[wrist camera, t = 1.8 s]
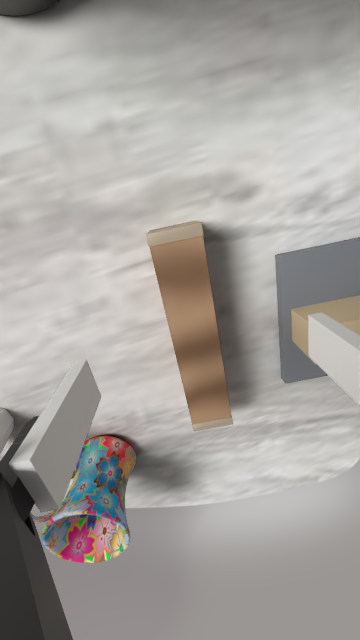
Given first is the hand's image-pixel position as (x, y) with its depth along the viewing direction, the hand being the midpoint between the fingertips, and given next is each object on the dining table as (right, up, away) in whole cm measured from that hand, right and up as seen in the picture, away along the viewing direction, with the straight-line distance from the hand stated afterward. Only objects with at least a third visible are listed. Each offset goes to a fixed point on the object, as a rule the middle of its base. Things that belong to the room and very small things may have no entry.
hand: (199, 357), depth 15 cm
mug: (-13, -17, +22) cm, 31 cm away
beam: (0, +2, +14) cm, 15 cm away
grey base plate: (+15, +3, +15) cm, 21 cm away
